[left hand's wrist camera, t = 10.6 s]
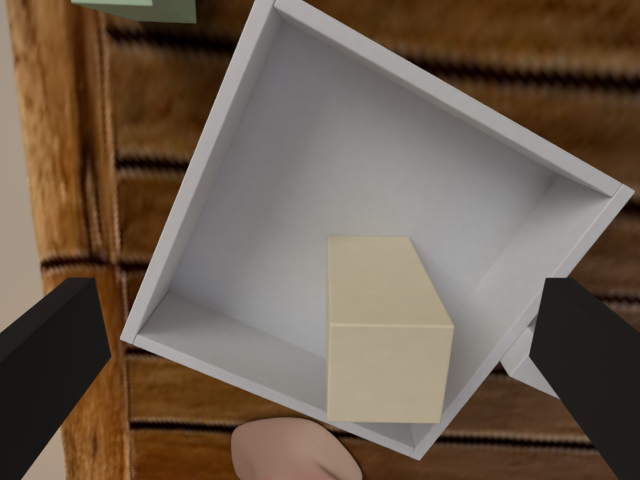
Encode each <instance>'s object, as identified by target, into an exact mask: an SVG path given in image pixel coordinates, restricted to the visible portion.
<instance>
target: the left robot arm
mask: <svg viewBox="0 0 640 480" xmlns="http://www.w3.org/2000/svg"><path fill="white" fill-rule="evenodd" d="M110 358H111V353H110V348H109V343H108V339H107V334H106V329H105V325H104V320H103V315H102V311H101V306H100V301H99V297H98V292H97V287H96V283H95V278H67V279H66V280H65V281H63V282H62V283H61V284H60V285H59V286H57V287H56V288H55V289H54V290H52V291H51V292H50V293H49V294H48V295H46V296H45V297H44V298H43V299H41V300H40V301H39V302H38V303H37V304H35V305H34V306H33V307H32V308H30V309H29V310H28V311H27V312H26V313H24V314H23V315H22V316H21V317H19V318H18V319H17V320H16V321H15V322H13V323H12V324H11V325H10V326H8V327H7V328H6V329H5V330H4V331H2V332H1V333H0V480H21V479H22V478H23V476H24V475H25V474H26V472H27V471H28V469H29V468H30V467H31V465H32V464H33V463H34V461H35V460H36V459H37V457H38V456H39V454H40V453H41V452H42V450H43V449H44V448H45V446H46V445H47V444H48V442H49V441H50V439H51V438H52V437H53V435H54V434H55V433H56V431H57V430H58V429H59V427H60V426H61V424H62V423H63V422H64V420H65V419H66V418H67V416H68V415H69V414H70V412H71V411H72V409H73V408H74V407H75V405H76V404H77V403H78V401H79V400H80V398H81V397H82V396H83V394H84V393H85V392H86V390H87V389H88V388H89V386H90V385H91V383H92V382H93V381H94V379H95V378H96V377H97V375H98V374H99V373H100V371H101V370H102V368H103V367H104V366H105V364H106V363H107V362H108V360H109V359H110ZM529 358H530V359H531V360H532V362H533V363H534V364H535V366H536V367H537V368H538V370H539V371H540V373H541V374H542V375H543V377H544V378H545V379H546V381H547V382H548V383H549V385H550V386H551V388H552V389H553V390H554V392H555V393H556V394H557V396H558V397H559V399H560V400H561V401H562V403H563V404H564V405H565V407H566V408H567V409H568V411H569V412H570V414H571V415H572V416H573V418H574V419H575V420H576V422H577V423H578V424H579V426H580V427H581V429H582V430H583V431H584V433H585V434H586V435H587V437H588V438H589V439H590V441H591V442H592V444H593V445H594V446H595V448H596V449H597V450H598V452H599V453H600V454H601V456H602V457H603V459H604V460H605V461H606V463H607V464H608V465H609V467H610V468H611V469H612V471H613V472H614V474H615V475H616V476H617V478H618V479H619V480H640V333H639V332H638V331H637V330H635V329H634V328H633V327H632V326H630V325H629V324H628V323H627V322H626V321H624V320H623V319H622V318H621V317H619V316H618V315H617V314H616V313H614V312H613V311H612V310H611V309H610V308H608V307H607V306H606V305H605V304H603V303H602V302H601V301H600V300H599V299H597V298H596V297H595V296H594V295H592V294H591V293H590V292H589V291H588V290H586V289H585V288H584V287H583V286H581V285H580V284H579V283H578V282H577V281H575V280H574V279H573V278H545V283H544V287H543V292H542V297H541V301H540V306H539V311H538V315H537V320H536V325H535V329H534V334H533V339H532V343H531V348H530V353H529Z"/></svg>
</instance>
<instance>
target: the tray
mask: <svg viewBox="0 0 640 480" xmlns="http://www.w3.org/2000/svg"><path fill="white" fill-rule="evenodd" d="M634 193H635V191H634V190H633V189H631V188H629V187H627V186H626V185H624V184H621V183H620V182H618V181H617V180H615V179H613V178H611V177H610V176H608V175H606V174H604V173H603V172H601V171H599V170H597V169H596V168H594V167H592V166H590V165H589V164H587V163H585V162H583V161H582V160H580V159H578V158H576V157H575V156H573V155H571V154H570V153H568V152H566V151H564V150H563V149H561V148H559V147H557V146H556V145H554V144H552V143H550V142H549V141H547V140H545V139H543V138H542V137H540V136H538V135H536V134H535V133H533V132H531V131H529V130H528V129H526V128H524V127H522V126H521V125H519V124H517V123H515V122H514V121H512V120H510V119H508V118H507V117H505V116H503V115H501V114H500V113H498V112H496V111H494V110H493V109H491V108H489V107H487V106H486V105H484V104H482V103H480V102H479V101H477V100H475V99H473V98H472V97H470V96H468V95H467V94H465V93H463V92H461V91H460V90H458V89H456V88H454V87H453V86H451V85H449V84H447V83H446V82H444V81H442V80H440V79H439V78H437V77H435V76H433V75H432V74H430V73H428V72H426V71H425V70H423V69H421V68H419V67H418V66H416V65H414V64H412V63H411V62H409V61H407V60H405V59H404V58H402V57H400V56H398V55H397V54H395V53H393V52H391V51H390V50H388V49H386V48H384V47H383V46H381V45H379V44H377V43H376V42H374V41H372V40H370V39H369V38H367V37H365V36H363V35H362V34H360V33H358V32H357V31H355V30H353V29H351V28H350V27H348V26H346V25H344V24H343V23H341V22H339V21H337V20H336V19H334V18H332V17H330V16H329V15H327V14H325V13H323V12H322V11H320V10H318V9H316V8H315V7H313V6H311V5H309V4H308V3H306V2H304V1H302V0H255V2H254V5H253V7H252V10H251V12H250V15H249V17H248V20H247V22H246V25H245V27H244V29H243V32H242V34H241V37H240V39H239V42H238V44H237V47H236V49H235V52H234V54H233V57H232V59H231V62H230V64H229V67H228V69H227V72H226V74H225V77H224V79H223V82H222V84H221V87H220V89H219V92H218V94H217V97H216V99H215V102H214V104H213V107H212V109H211V112H210V114H209V117H208V119H207V122H206V124H205V127H204V129H203V132H202V134H201V137H200V139H199V142H198V144H197V147H196V149H195V152H194V154H193V157H192V159H191V162H190V164H189V167H188V169H187V172H186V174H185V177H184V179H183V182H182V184H181V187H180V189H179V192H178V194H177V197H176V199H175V202H174V204H173V207H172V209H171V212H170V214H169V217H168V219H167V222H166V224H165V227H164V229H163V232H162V234H161V237H160V239H159V242H158V244H157V247H156V249H155V252H154V254H153V257H152V259H151V262H150V264H149V267H148V269H147V272H146V274H145V277H144V279H143V282H142V284H141V287H140V289H139V292H138V294H137V297H136V299H135V302H134V304H133V307H132V309H131V312H130V314H129V317H128V319H127V322H126V324H125V327H124V329H123V332H122V334H121V337H120V339H121V340H123V341H125V342H128V343H130V344H134V345H135V346H138V347H140V348H143V349H145V350H148V351H150V352H152V353H155V354H157V355H160V356H162V357H165V358H167V359H170V360H172V361H175V362H177V363H180V364H182V365H185V366H187V367H190V368H192V369H194V370H197V371H199V372H202V373H204V374H207V375H209V376H212V377H214V378H217V379H219V380H222V381H224V382H227V383H229V384H231V385H234V386H236V387H239V388H241V389H244V390H246V391H249V392H251V393H254V394H256V395H259V396H261V397H264V398H266V399H269V400H271V401H273V402H276V403H278V404H281V405H283V406H286V407H288V408H291V409H293V410H296V411H298V412H301V413H303V414H306V415H308V416H310V417H313V418H315V419H318V420H320V421H323V422H325V423H328V424H330V425H333V426H335V427H338V428H340V429H343V430H345V431H348V432H350V433H352V434H355V435H357V436H360V437H362V438H365V439H367V440H370V441H372V442H375V443H377V444H380V445H382V446H385V447H387V448H389V449H392V450H394V451H397V452H399V453H402V454H404V455H407V456H409V457H411V458H414V459H416V460H420V459H421V458H422V457H423V456H424V454H425V453H426V452H427V451H428V449H429V448H430V447H431V446H432V444H433V443H434V442H435V441H436V439H437V438H438V437H439V436H440V434H441V433H442V432H443V431H444V429H445V428H446V427H447V426H448V424H449V423H450V422H451V421H452V419H453V418H454V417H455V416H456V414H457V413H458V412H459V411H460V409H461V408H462V407H463V406H464V405H465V403H466V402H467V401H468V400H469V398H470V397H471V396H472V395H473V393H474V392H475V391H476V390H477V388H478V387H479V386H480V385H481V383H482V382H483V381H484V380H485V378H486V377H487V376H488V375H489V373H490V372H491V371H492V370H493V368H494V367H495V366H496V365H497V363H498V362H499V361H500V362H501V363H502V365H503V367H504V368H505V370H506V372H507V373H508V375H509V376H510V377H512V378H514V379H517V380H519V381H521V382H523V383H525V384H527V385H530V386H532V387H534V388H536V389H538V390H541V391H543V392H545V393H547V394H549V395H551V396H554V397H556V398H558V399H559V397H558V396H557V394H556V393H555V392H554V390H553V389H552V388H551V386H550V385H549V383H548V382H547V381H546V379H545V378H544V377H543V375H542V374H541V373H540V371H539V370H538V368H537V367H536V366H535V364H534V363H533V362H532V360H531V359H530V358H529V353H530V348H531V343H532V339H533V334H534V329H535V325H536V320H537V315H538V311H539V306H540V301H541V297H542V292H543V287H544V283H545V278H566V277H567V276H568V275H569V274H570V272H571V271H572V270H573V269H574V267H575V266H576V265H577V264H578V262H579V261H580V260H581V259H582V257H583V256H584V255H585V254H586V252H587V251H588V250H589V249H590V247H591V246H592V245H593V244H594V242H595V241H596V240H597V239H598V237H599V236H600V235H601V234H602V233H603V231H604V230H605V229H606V228H607V226H608V225H609V224H610V223H611V221H612V220H613V219H614V218H615V216H616V215H617V214H618V213H619V211H620V210H621V209H622V208H623V206H624V205H625V204H626V203H627V201H628V200H629V199H630V198H631V196H632V195H633V194H634ZM328 236H377V237H409V238H410V240H411V242H412V244H413V246H414V248H415V250H416V252H417V254H418V256H419V258H420V260H421V262H422V264H423V265H424V267H425V269H426V271H427V273H428V275H429V277H430V279H431V281H432V283H433V285H434V287H435V289H436V291H437V293H438V295H439V296H440V298H441V300H442V302H443V304H444V306H445V308H446V310H447V312H448V314H449V316H450V318H451V320H452V322H453V324H454V326H455V331H454V338H453V345H452V351H451V358H450V365H449V371H448V378H447V385H446V391H445V398H444V405H443V411H442V418H441V423H439V424H426V423H372V422H329V421H328V420H327V387H326V283H327V238H328Z"/></svg>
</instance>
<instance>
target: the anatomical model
mask: <svg viewBox="0 0 640 480" xmlns="http://www.w3.org/2000/svg"><path fill="white" fill-rule="evenodd" d="M231 452H232V461H233V465H234V468H235V471H236V474H237V476H238V477H239V478H240V479H241V480H362V473H361V470H360V468H359V466H358V465H357V463H356V461H355V460H354V459H353V457H352V456H351V455H350V453H349V452H348V451H347V450H346V448H345V447H344V446H343V445H342V444H341V443H340V442H339V441H338V440H337V439H336V438H335V437H334V436H333V435H332V434H331V433H330V432H329V431H328V430H326V429H325V428H324V427H322V426H321V425H319V424H317V423H315V422H313V421H310V420H307V419H303V418H293V417H281V418H270V419H263V420H256V421H252V422H248V423H245V424H242V425H240V426H238V427H237V428H236V429H235V430H234V431H233V434H232V438H231Z"/></svg>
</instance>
